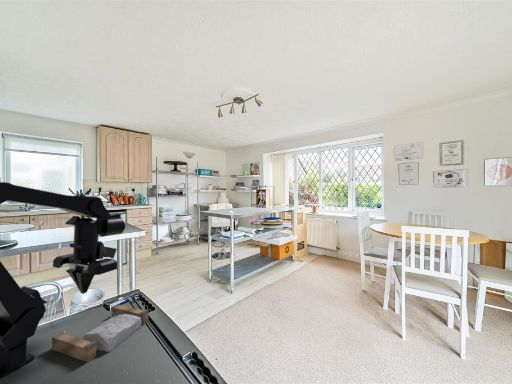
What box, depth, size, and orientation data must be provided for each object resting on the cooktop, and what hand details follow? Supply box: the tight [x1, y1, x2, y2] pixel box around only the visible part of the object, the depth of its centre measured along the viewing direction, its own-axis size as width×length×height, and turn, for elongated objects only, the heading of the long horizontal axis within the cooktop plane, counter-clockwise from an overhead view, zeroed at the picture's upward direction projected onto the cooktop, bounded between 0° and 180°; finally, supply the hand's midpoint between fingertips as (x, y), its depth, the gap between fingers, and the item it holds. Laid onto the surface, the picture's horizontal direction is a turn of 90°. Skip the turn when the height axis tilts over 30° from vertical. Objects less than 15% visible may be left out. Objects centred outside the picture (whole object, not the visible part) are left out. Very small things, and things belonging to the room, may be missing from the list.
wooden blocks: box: [51, 303, 150, 364], centre depth 62 cm, size 12×18×3 cm
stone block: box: [82, 314, 142, 353], centre depth 61 cm, size 12×5×10 cm
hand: (84, 293), depth 64 cm, fingers closed
